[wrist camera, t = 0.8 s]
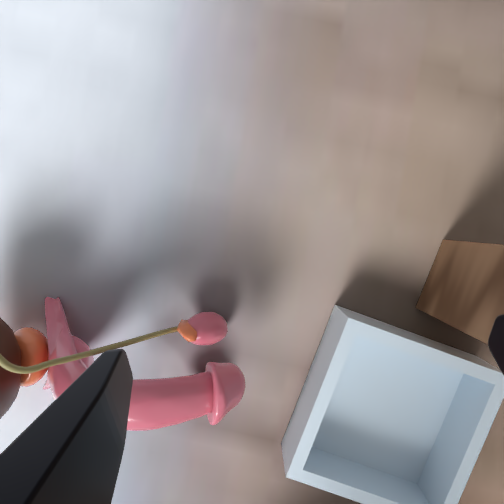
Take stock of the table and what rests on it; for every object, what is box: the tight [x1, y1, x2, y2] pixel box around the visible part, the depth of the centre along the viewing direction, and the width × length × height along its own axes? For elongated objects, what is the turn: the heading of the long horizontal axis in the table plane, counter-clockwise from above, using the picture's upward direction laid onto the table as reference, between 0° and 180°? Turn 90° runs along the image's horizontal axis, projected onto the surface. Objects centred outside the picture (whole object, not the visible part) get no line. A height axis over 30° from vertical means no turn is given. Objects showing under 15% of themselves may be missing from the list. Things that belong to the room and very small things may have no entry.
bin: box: [281, 305, 504, 504], centre depth 24 cm, size 11×11×4 cm
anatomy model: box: [0, 297, 245, 431], centre depth 21 cm, size 11×15×17 cm
